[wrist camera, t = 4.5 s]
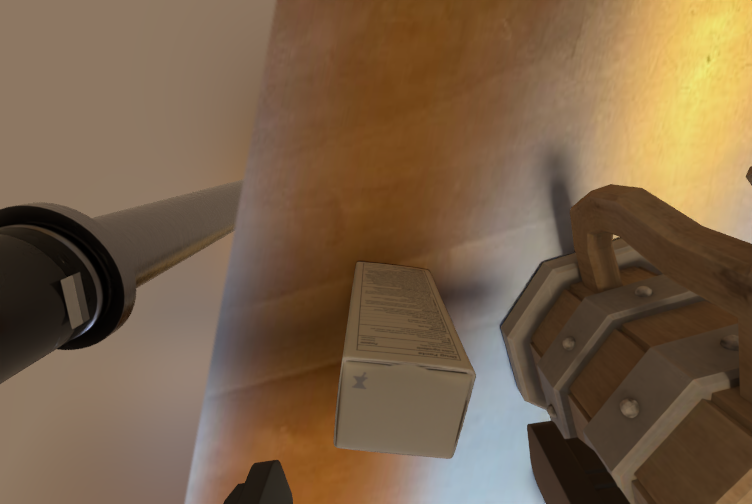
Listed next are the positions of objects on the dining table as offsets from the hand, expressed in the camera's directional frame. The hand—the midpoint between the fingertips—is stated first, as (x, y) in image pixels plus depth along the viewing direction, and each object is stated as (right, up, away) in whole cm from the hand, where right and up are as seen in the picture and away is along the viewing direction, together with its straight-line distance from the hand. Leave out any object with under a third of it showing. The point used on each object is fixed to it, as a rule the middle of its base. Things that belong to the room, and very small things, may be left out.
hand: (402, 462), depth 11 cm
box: (0, +4, +13) cm, 13 cm away
